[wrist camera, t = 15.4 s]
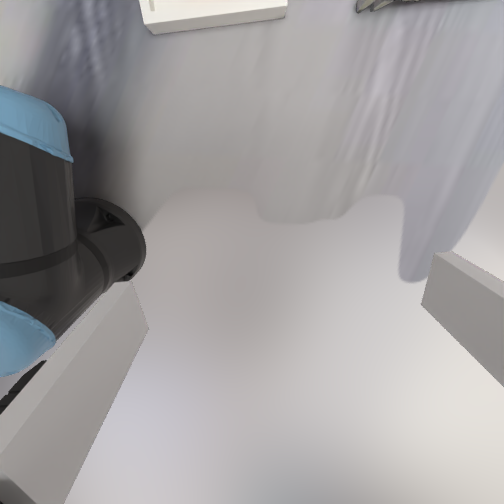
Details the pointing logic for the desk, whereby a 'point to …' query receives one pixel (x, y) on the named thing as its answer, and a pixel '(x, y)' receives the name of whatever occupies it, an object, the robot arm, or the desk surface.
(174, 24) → the tray
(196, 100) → the desk surface
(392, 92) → the desk surface
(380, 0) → the caliper
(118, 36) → the desk surface
